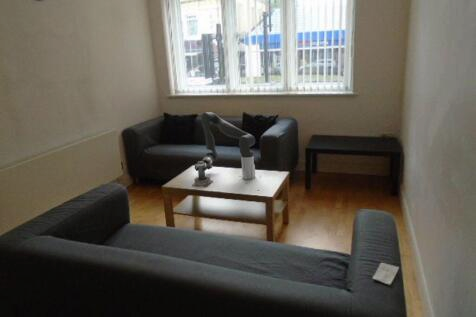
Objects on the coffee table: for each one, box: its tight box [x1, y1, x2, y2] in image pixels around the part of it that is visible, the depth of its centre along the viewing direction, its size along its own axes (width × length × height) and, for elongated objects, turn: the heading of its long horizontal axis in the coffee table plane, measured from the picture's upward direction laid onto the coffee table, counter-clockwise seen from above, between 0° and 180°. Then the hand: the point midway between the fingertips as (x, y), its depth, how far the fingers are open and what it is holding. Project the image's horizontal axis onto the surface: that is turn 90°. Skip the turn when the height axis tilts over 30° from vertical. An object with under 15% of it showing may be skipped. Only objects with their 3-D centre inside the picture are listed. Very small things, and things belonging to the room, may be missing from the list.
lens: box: [196, 160, 206, 179], centre depth 277 cm, size 5×5×12 cm
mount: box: [191, 175, 214, 188], centre depth 279 cm, size 12×12×4 cm
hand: (200, 169), depth 274 cm, fingers closed on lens, 5 cm apart
